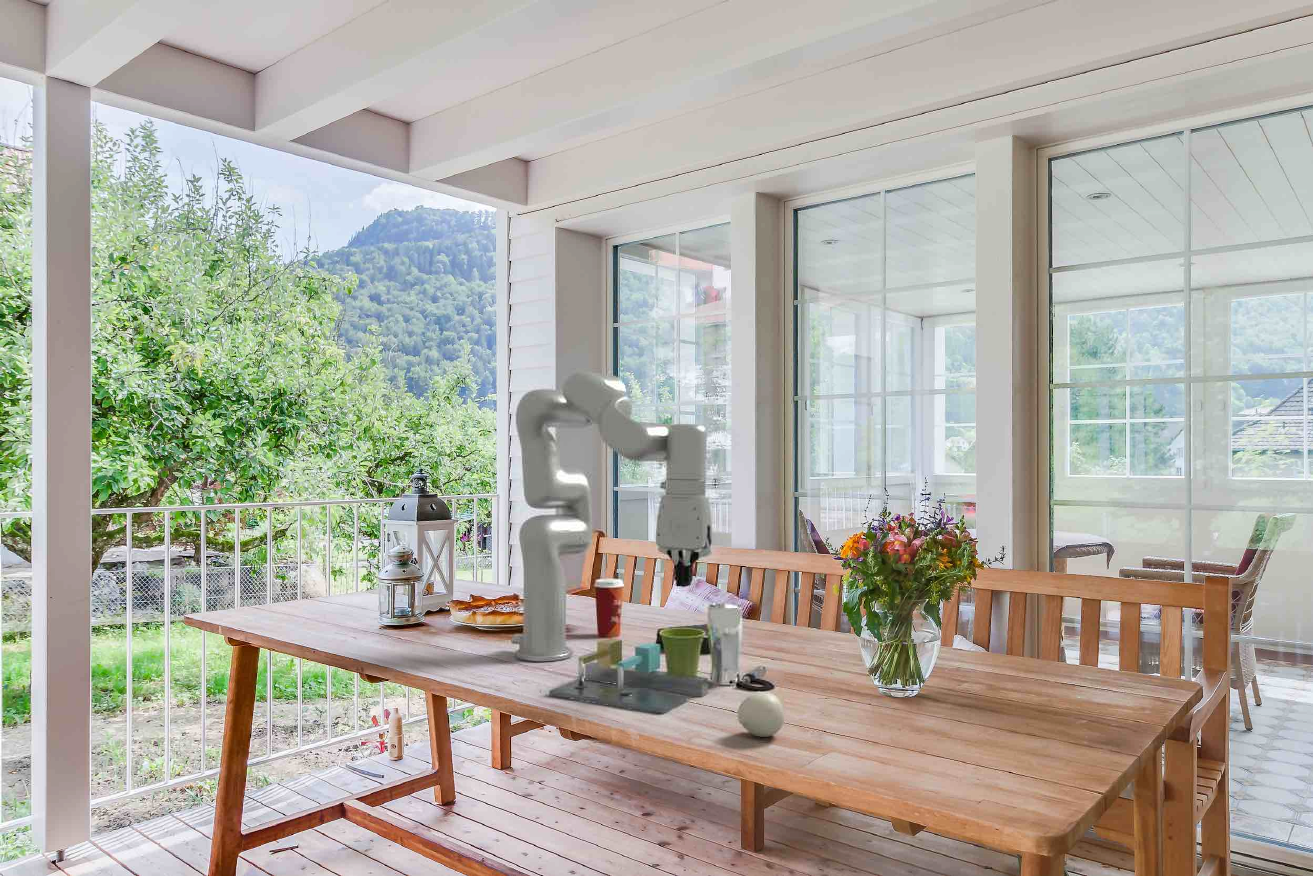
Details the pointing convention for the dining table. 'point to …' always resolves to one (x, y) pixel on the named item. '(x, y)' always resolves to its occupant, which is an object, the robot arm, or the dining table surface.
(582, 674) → the fixed leg
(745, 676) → the black c clamp
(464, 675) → the dining table surface
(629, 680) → the rail
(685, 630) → the plant pot
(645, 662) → the sliding leg
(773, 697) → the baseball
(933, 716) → the dining table surface
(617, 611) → the paper cup
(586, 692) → the hole plate
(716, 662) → the beer glass
